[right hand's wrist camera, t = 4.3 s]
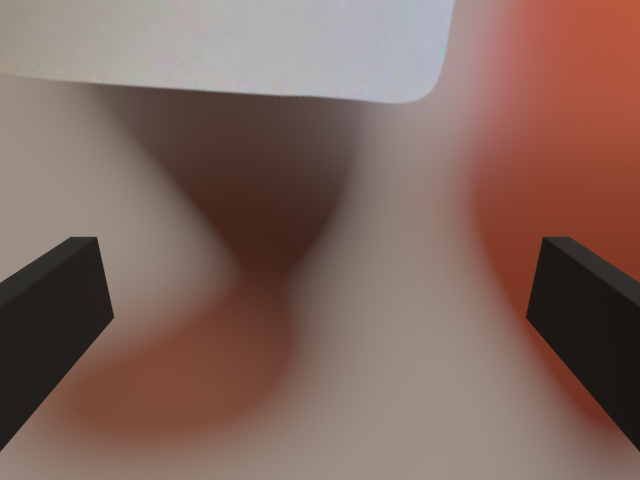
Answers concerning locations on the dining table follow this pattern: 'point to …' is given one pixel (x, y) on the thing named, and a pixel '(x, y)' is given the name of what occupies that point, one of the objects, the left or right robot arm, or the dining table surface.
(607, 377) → the right robot arm
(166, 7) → the dining table surface
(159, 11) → the dining table surface
